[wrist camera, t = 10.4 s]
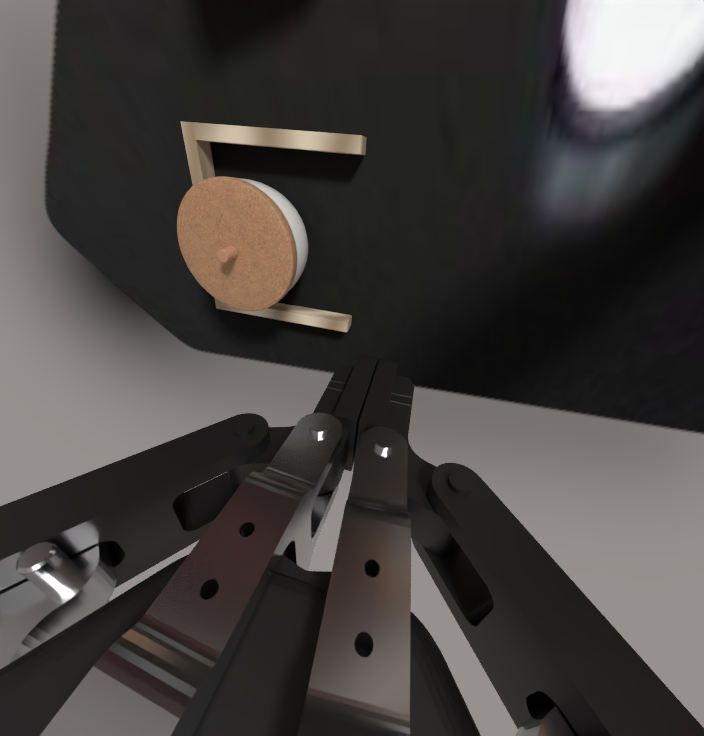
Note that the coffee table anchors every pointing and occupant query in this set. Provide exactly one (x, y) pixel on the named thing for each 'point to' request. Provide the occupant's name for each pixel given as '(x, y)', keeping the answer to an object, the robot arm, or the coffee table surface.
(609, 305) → the coffee table surface
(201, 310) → the coffee table surface
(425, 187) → the coffee table surface
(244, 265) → the lidded jar
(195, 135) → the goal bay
